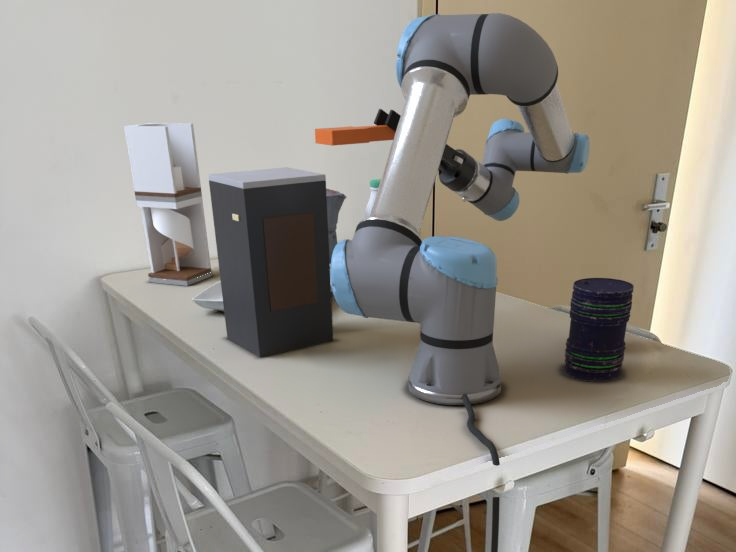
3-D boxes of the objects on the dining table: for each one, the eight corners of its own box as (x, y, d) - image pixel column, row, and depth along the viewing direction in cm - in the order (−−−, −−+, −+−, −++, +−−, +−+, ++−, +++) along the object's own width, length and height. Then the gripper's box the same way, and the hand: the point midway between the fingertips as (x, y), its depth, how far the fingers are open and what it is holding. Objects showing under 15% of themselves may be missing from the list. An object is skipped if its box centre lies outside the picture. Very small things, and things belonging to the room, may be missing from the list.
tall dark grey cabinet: (297, 324, 160) (286, 167, 145) (333, 341, 150) (326, 174, 135) (226, 338, 152) (206, 174, 137) (259, 357, 142) (242, 182, 127)
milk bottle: (397, 259, 211) (397, 180, 201) (371, 262, 209) (370, 182, 199) (387, 253, 218) (386, 177, 207) (361, 256, 215) (359, 179, 205)
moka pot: (344, 264, 207) (341, 184, 197) (289, 262, 210) (284, 183, 199) (353, 256, 215) (350, 179, 205) (300, 255, 218) (295, 178, 207)
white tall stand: (149, 282, 193) (123, 126, 175) (175, 272, 201) (152, 122, 183) (187, 285, 189) (165, 126, 171) (211, 276, 197) (193, 123, 180)
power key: (406, 136, 152) (406, 122, 151) (425, 138, 148) (425, 124, 147) (315, 143, 142) (314, 128, 141) (332, 145, 138) (332, 130, 137)
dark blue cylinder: (628, 368, 135) (641, 281, 128) (612, 385, 128) (625, 295, 120) (573, 359, 140) (583, 275, 132) (554, 375, 132) (564, 287, 125)
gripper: (481, 197, 155) (400, 139, 140) (432, 188, 167) (351, 133, 151) (497, 160, 154) (417, 97, 138) (446, 154, 165) (366, 95, 149)
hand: (383, 116), depth 145 cm, fingers closed on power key, 3 cm apart
